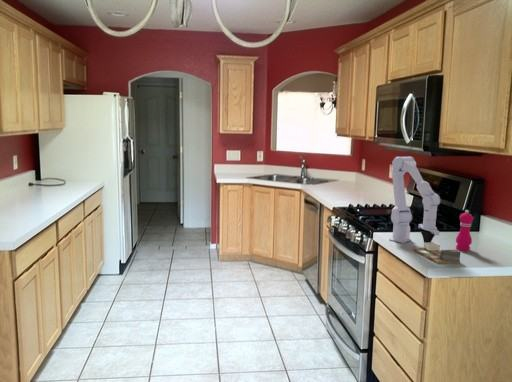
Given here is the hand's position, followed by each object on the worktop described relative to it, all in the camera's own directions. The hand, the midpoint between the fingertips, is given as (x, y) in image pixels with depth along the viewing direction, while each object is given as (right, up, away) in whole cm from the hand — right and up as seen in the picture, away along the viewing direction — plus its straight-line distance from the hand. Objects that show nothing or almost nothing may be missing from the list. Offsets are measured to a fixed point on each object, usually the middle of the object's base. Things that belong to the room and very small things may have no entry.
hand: (427, 245), depth 219 cm
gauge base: (0, -4, -9) cm, 10 cm away
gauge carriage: (-1, -1, -4) cm, 4 cm away
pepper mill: (+19, -2, +3) cm, 19 cm away
